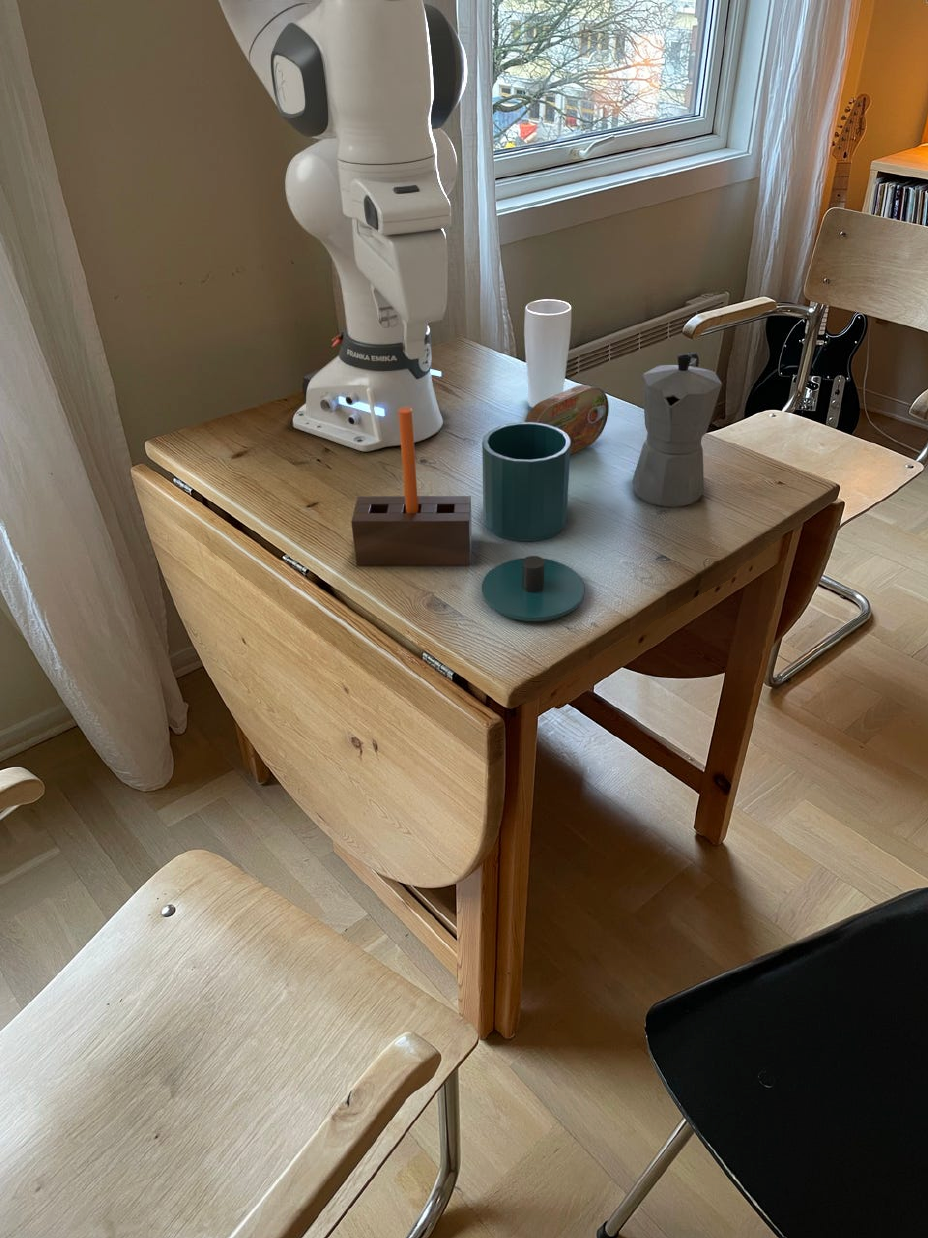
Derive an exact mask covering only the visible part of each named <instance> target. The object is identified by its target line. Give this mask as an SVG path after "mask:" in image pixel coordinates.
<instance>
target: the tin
mask: <svg viewBox="0 0 928 1238" xmlns="http://www.w3.org/2000/svg"><path fill="white" fill-rule="evenodd" d="M608 399H609V398H608V396H607V394H606V392H605V391H604V390H603V389H601V388H600V387H597V386H590V385H587V384H580V385H575V386H574V387H571V388H569V389H566V390H563V392H562V393H560V394H557V395H555V396H553V397H550V398H548V399H546V400H544V401H541V402H539V403H538V404H536V405H535V406H534V407H533V408H531V409H530V410H529V412H528V414H527V415H526V417H525V419H524V421H523V422H536V423H542V424H547V425H551V426H553V427H556V428H559V429H561V430H562V431H563V432H565V433H566V434H567V435H568V436H569V438H570V440H571V445H570V456H571V455H573V454H575V453H577V452H580V451H581V450H583V449H586V448H587V447H590V446H591V445H593V444H594V443H596V441H597V440H598V439H599V438H600V437H601V435H602V433H603V431H604V430H605V427H606V425H607V422H608V419H609V412H610V406H609V405H610V403H609V400H608Z"/></svg>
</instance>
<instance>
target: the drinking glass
mask: <svg viewBox="0 0 928 1238" xmlns="http://www.w3.org/2000/svg"><path fill="white" fill-rule="evenodd" d="M523 318H524V321H523V336H524V337H523V338H524V352H525V354H524V355H525V368H526V383H527V404H528V406H529V408H531V409H532V408H533V407H534V406H535V405H536V404H538V403H539V402H541V401H544V400H546V399H548V398H550V397H553V396H555V395H557V394H560V393H562V392H564V391H565V390H564V389H565V380H566V373H567V365H568V358H569V352H570V351H569V350H570V343H571V333H572V332H571V331H572V305H570V304H569V302H566V301H563V300H558V299H539V300H534V301H531V302H529V303H527V304H526V305H525V307H524V317H523Z"/></svg>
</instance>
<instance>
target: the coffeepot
mask: <svg viewBox="0 0 928 1238" xmlns="http://www.w3.org/2000/svg"><path fill="white" fill-rule="evenodd" d="M698 355H699V354H697V353H696V352H690V353H680V354H678V355H677V364H663V365H662V364H660V365H658V366H655V367H654V368H652V369H650V370H648V371H646V372H644V373H642V375H641V376H642V393H643V396H642V397H643V417H644V426H645V430H646V432H647V433H646V438H645V440H644V441H643V444H642V447H641V450H640V453H639V457H638V460H637V464H636V468H635V470H634V474H633V477H632V481H631V484H632V487H633V491H634V494H635V495H636V497H638V498H639V499H640V500H642V501H644V502H646V503H648V504H651V505H654V506H658V507H665V508H678V507H679V508H680V507H685V506H689V505H692V504H694V503H696V502H697V501H698V500H699V499H700V498H701V497H702V496H703V495H704V494H705V477H704V475H705V474H704V450H703V446H702V438H703V437H704V436H705V435H706V434H707V433H708V430H709V426H710V423H711V420H712V417H713V415H714V411H715V408H716V404H717V401H718V399H719V395H720V392H721V388H722V386H723V383H722V381H721V379H720V378H719V377H718V375H717V374H716V372H715V371H713V370H709V369H707V368H706V369H705V368H703V367H699V363H700V360H699V356H698Z"/></svg>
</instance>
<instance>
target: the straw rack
mask: <svg viewBox="0 0 928 1238" xmlns="http://www.w3.org/2000/svg"><path fill="white" fill-rule="evenodd" d="M417 497H418V512H419V513H406V503H405V495H403V496H402V495H394V496H392V495H391V496H390V495H387V496H386V495H384V496H383V495H381V496H380V495H379V496H378V495H377V496H375V495H374V496H373V495H372V496H369V495H366V496H365V495H364V496H361V495H360V496H357V499H356V502H355V505H354V509H353V513H352V518H351V532H352V539H353V548H354V549H353V550H354V554H355V555H354V556H355V557H354V558H355V563H356V565H355V566H358V567H359V566H363V567H364V566H366V567H367V566H368V567H369V566H370V567H371V566H374V567H375V566H377V567H378V566H380V567H382V566H383V567H384V566H389V567H390V566H391V567H392V566H397V567H398V566H405V567H409V566H411V567H413V566H415V567H416V566H417V567H418V566H420V567H422V566H423V567H424V566H425V567H426V566H427V567H429V566H430V567H431V566H432V567H433V566H434V567H436V566H437V567H439V566H440V567H441V566H444V567H445V566H447V567H448V566H451V567H454V566H456V567H457V566H459V567H460V566H461V567H462V566H463V567H464V566H465V567H467V566H468V567H469V566H471V561H472V559H471V558H472V545H473V544H472V543H473V533H472V531H473V529H472V527H473V526H472V496H471V495H417Z"/></svg>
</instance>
